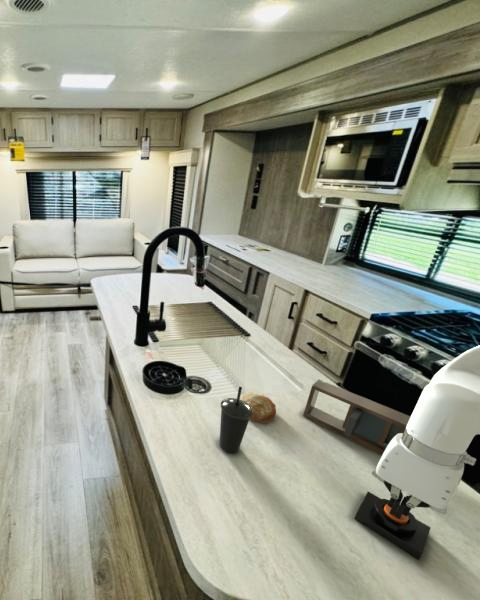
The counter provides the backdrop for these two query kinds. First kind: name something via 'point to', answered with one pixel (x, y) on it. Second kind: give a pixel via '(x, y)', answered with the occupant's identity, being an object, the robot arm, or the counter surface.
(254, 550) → the counter surface
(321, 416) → the window frame
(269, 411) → the bread roll
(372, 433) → the window sash
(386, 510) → the button
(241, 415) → the drinking cup
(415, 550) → the control block
